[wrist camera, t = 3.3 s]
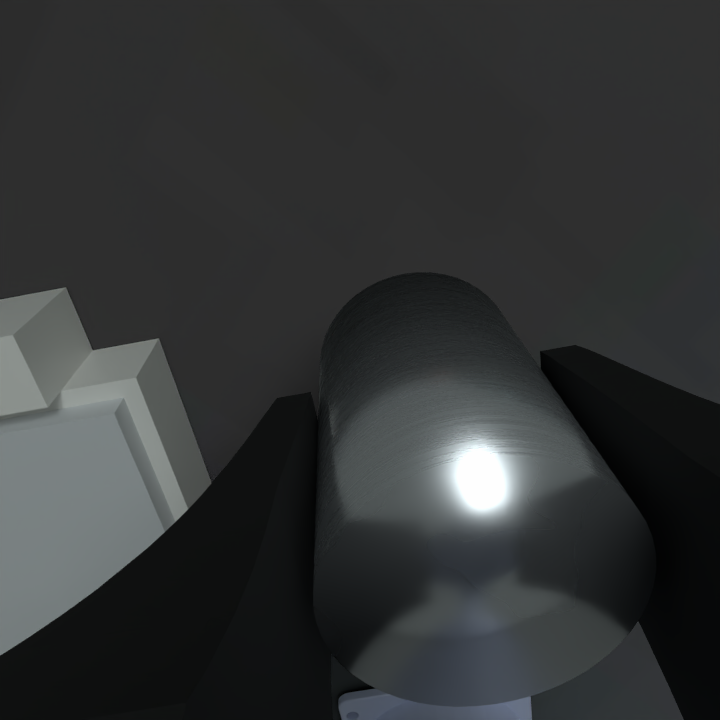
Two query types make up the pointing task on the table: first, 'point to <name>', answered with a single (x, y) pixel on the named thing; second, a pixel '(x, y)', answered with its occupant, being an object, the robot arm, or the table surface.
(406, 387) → the cylinder
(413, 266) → the table surface
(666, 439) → the robot arm
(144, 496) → the grey flat ridged box
